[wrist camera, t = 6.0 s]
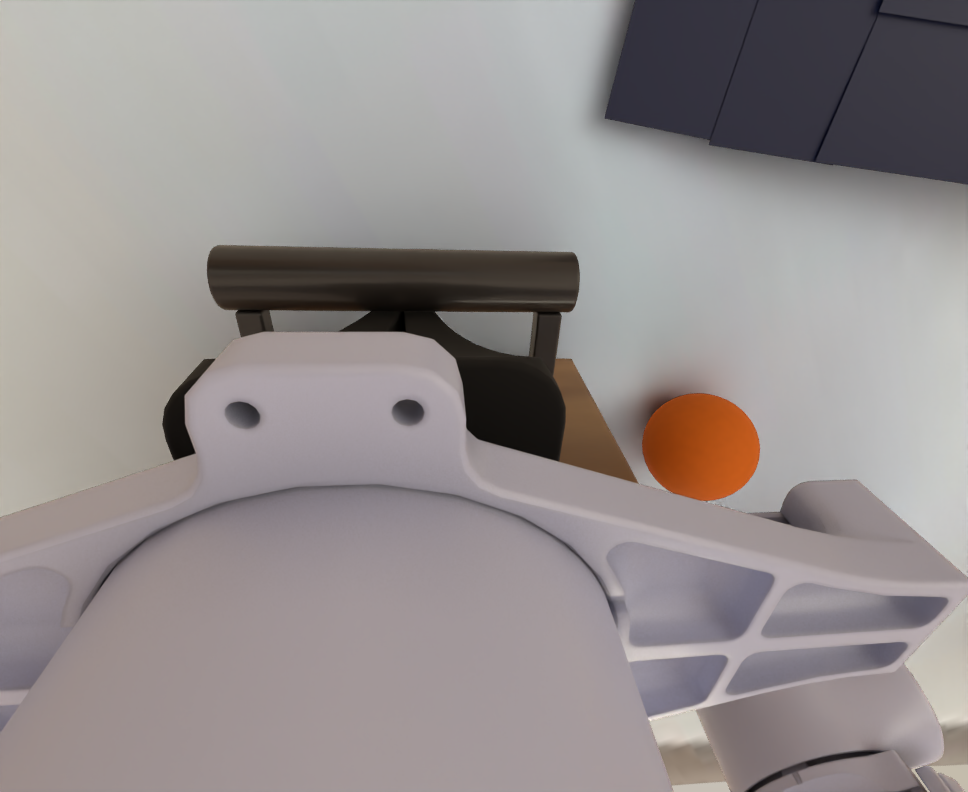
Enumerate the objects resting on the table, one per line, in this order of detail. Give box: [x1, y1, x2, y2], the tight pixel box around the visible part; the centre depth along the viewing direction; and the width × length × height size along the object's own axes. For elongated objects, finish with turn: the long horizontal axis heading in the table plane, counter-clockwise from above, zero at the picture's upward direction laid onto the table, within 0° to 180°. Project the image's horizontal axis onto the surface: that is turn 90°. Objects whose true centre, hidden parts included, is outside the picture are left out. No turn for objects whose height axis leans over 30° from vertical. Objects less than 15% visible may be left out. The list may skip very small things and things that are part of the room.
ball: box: [642, 393, 760, 501], centre depth 18 cm, size 4×4×4 cm
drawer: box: [207, 245, 639, 484], centre depth 16 cm, size 18×11×7 cm, turn 178°
